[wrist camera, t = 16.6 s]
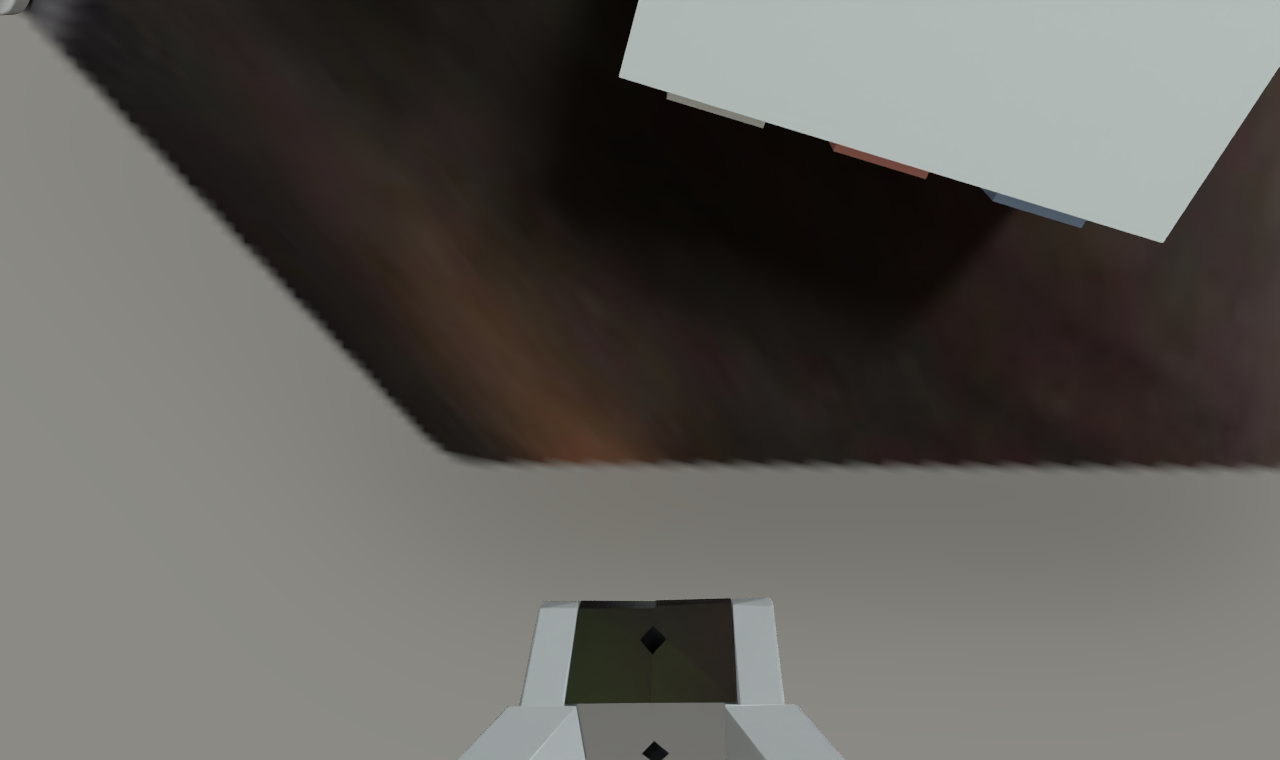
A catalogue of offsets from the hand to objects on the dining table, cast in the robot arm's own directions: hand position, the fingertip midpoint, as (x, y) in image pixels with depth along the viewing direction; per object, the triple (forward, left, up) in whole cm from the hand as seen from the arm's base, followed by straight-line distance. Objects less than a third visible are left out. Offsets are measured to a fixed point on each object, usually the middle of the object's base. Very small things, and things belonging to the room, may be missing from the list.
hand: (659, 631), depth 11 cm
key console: (+10, +3, -35) cm, 37 cm away
